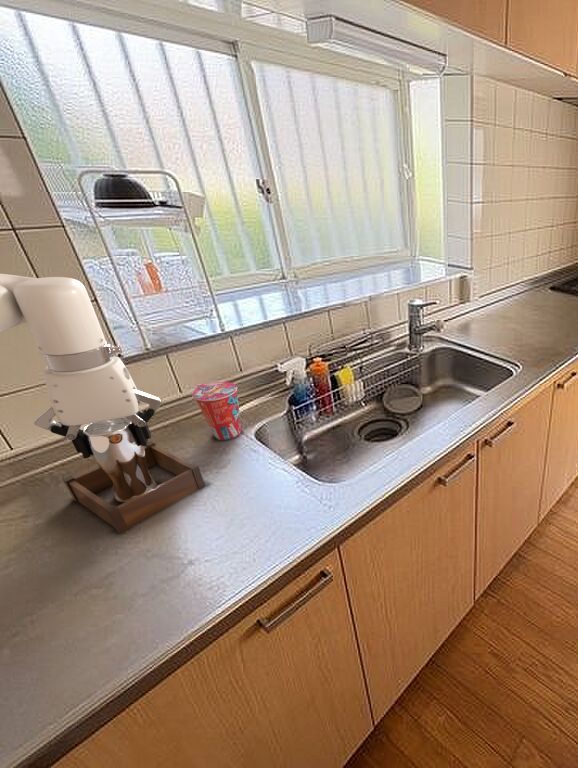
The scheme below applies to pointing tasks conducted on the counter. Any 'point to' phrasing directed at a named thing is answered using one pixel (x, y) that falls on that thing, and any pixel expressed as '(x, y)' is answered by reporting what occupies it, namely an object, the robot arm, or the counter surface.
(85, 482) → the tray
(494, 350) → the counter surface
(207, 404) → the cup
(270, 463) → the counter surface
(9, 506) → the counter surface
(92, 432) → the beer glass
